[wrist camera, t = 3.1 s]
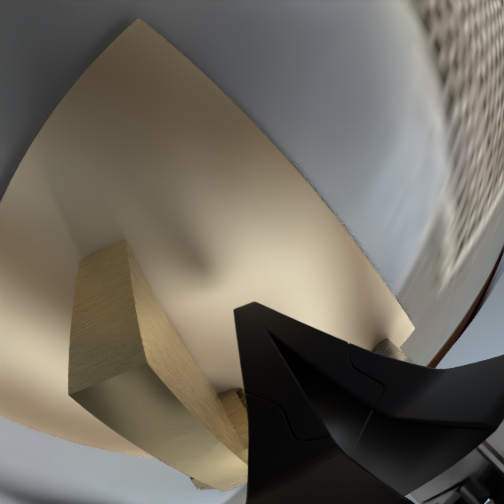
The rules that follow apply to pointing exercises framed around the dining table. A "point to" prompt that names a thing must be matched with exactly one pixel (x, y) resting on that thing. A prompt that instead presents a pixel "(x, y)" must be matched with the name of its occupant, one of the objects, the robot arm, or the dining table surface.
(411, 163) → the dining table surface
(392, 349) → the pin
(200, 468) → the loose leaf
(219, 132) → the mount board
